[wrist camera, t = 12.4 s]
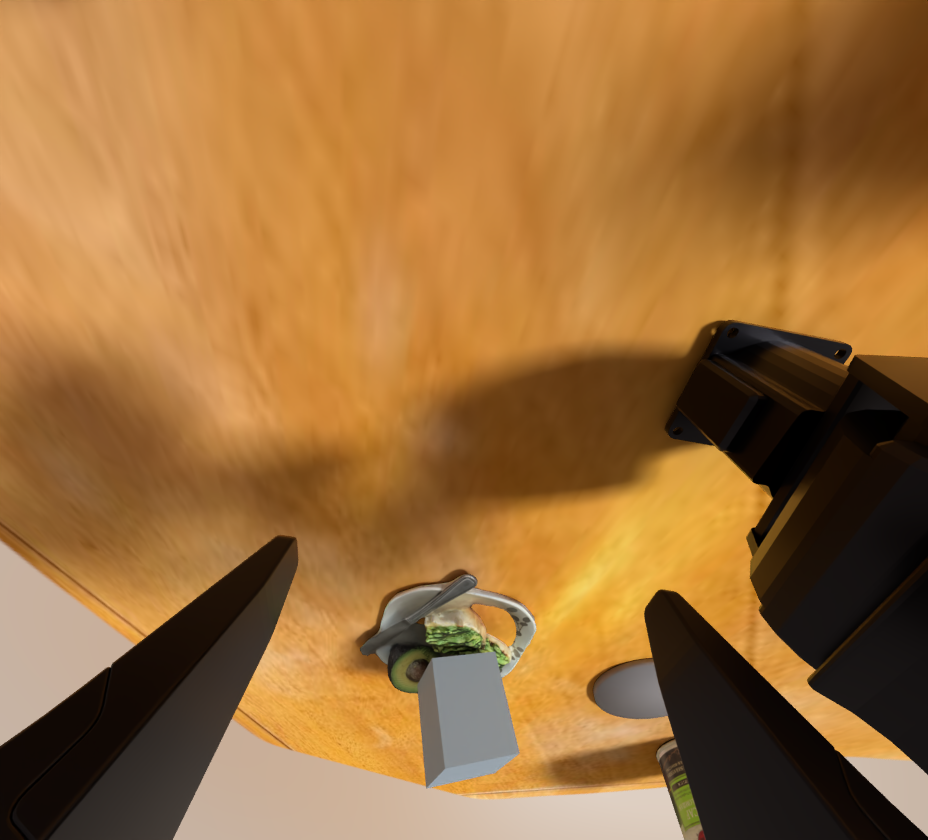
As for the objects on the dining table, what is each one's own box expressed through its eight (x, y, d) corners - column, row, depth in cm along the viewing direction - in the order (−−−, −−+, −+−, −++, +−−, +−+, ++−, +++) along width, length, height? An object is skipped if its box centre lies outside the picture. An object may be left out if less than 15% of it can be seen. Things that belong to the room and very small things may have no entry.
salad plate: (390, 542, 27) (379, 585, 24) (563, 581, 29) (574, 626, 26) (359, 648, 34) (348, 692, 31) (499, 674, 36) (501, 718, 33)
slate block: (495, 651, 28) (519, 753, 24) (475, 677, 31) (494, 773, 27) (432, 658, 27) (445, 768, 22) (417, 685, 30) (426, 788, 25)
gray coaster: (724, 665, 33) (728, 673, 32) (672, 716, 38) (675, 723, 37) (616, 651, 32) (619, 659, 32) (578, 705, 37) (579, 712, 37)
